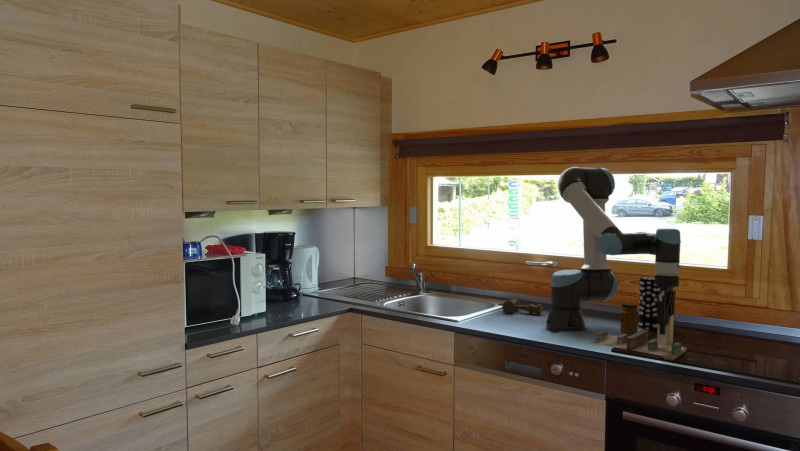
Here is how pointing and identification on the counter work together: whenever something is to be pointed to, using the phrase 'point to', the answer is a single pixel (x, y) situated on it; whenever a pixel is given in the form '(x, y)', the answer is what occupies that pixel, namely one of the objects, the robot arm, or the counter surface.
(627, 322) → the condiment
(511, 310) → the kendama
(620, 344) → the lock plate
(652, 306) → the white-spotted black cylinder
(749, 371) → the counter surface
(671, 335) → the stop bar
